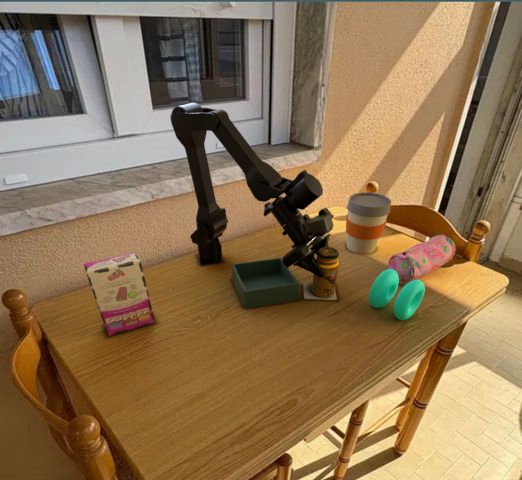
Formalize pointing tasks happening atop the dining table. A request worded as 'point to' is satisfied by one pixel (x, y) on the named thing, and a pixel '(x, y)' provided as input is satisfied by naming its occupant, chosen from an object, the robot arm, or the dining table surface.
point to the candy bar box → (120, 292)
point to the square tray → (264, 282)
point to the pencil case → (422, 258)
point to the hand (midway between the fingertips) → (327, 271)
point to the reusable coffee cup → (366, 221)
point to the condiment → (326, 284)
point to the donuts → (406, 299)
